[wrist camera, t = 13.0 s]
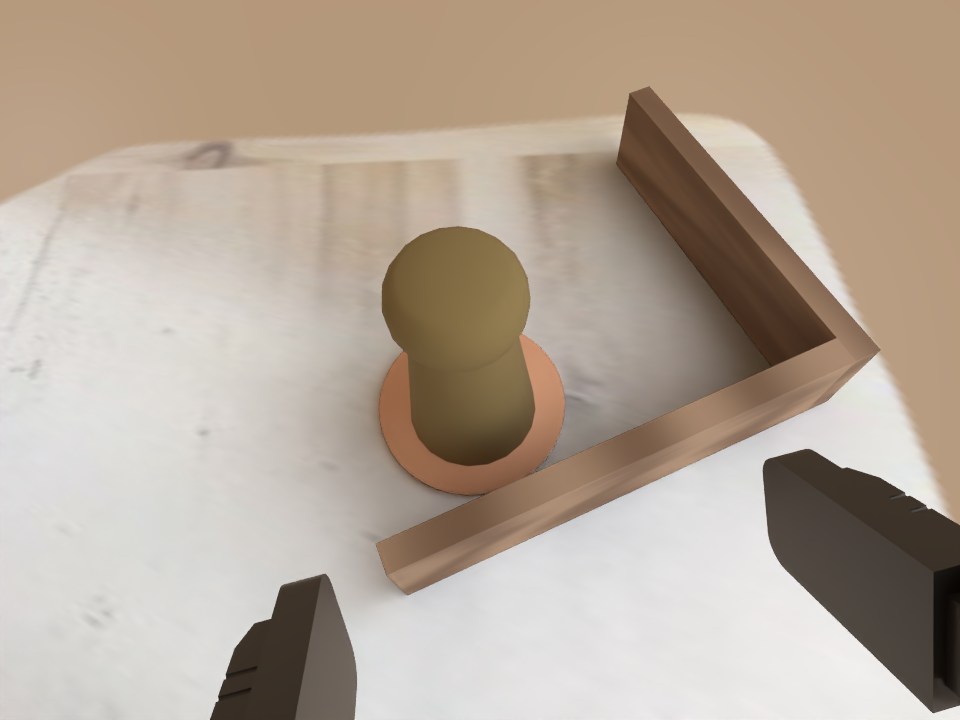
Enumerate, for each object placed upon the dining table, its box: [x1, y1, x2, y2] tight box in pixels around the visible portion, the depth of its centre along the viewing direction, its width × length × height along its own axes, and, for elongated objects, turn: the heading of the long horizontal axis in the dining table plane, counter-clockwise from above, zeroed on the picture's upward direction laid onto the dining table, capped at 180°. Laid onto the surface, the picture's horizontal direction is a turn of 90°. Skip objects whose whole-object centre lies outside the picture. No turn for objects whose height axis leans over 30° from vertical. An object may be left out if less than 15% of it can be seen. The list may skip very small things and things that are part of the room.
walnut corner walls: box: [376, 87, 880, 595], centre depth 30 cm, size 22×18×5 cm
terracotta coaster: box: [379, 334, 565, 495], centre depth 30 cm, size 9×9×1 cm
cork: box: [382, 226, 535, 466], centre depth 25 cm, size 6×6×11 cm
